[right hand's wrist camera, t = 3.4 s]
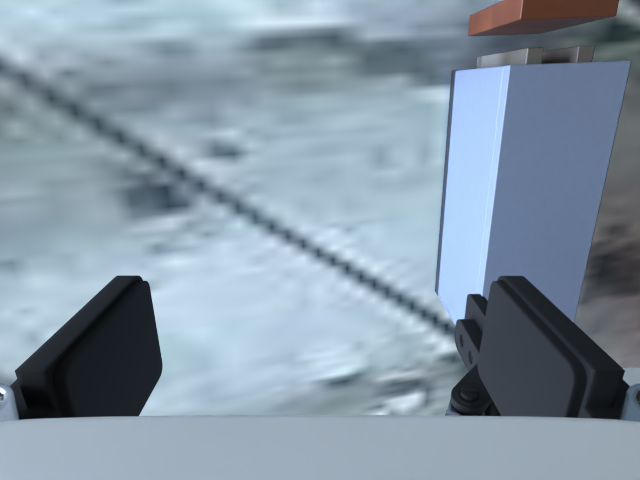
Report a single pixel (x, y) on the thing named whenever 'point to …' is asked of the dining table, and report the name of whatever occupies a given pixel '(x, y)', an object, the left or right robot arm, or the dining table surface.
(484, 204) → the cabinet
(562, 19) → the drawer
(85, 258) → the dining table surface
